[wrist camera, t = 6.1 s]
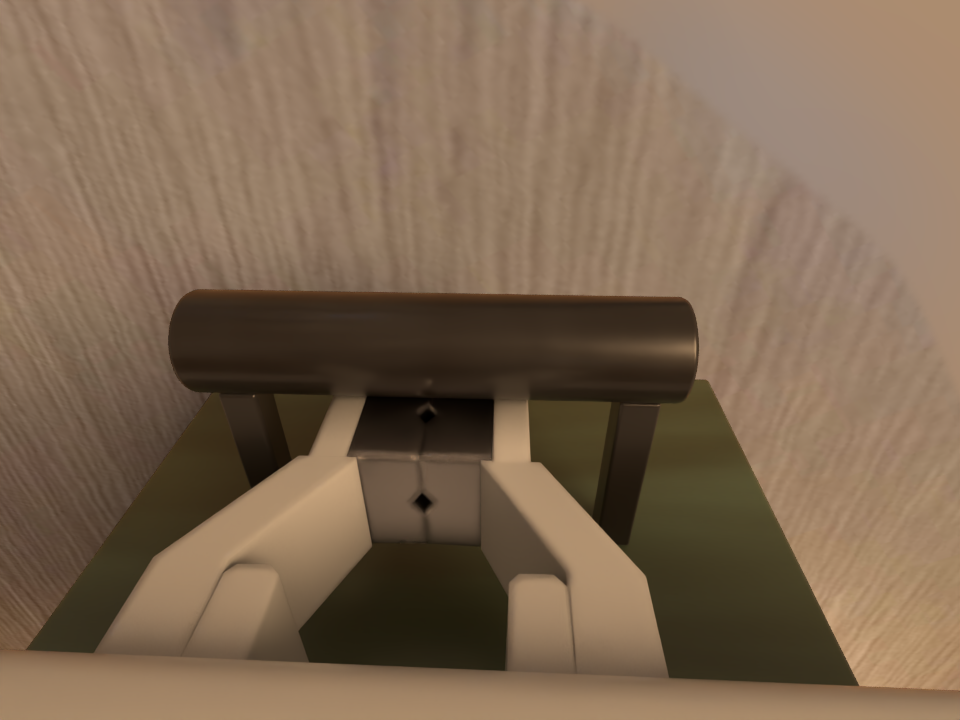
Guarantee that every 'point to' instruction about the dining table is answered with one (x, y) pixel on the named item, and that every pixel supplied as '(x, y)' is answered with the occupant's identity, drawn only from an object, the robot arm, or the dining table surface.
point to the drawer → (553, 442)
